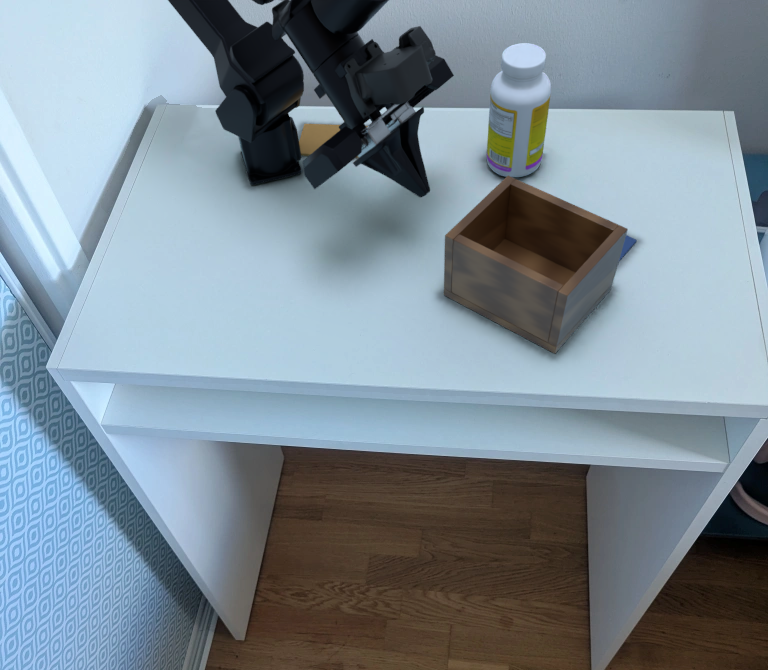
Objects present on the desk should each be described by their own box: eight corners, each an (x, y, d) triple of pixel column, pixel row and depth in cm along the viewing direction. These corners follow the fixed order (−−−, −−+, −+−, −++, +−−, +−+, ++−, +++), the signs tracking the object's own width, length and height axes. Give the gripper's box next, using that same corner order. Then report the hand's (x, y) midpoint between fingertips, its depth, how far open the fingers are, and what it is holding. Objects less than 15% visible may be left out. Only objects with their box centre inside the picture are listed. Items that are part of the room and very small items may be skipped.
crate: (443, 295, 82) (444, 235, 75) (501, 237, 86) (507, 175, 79) (554, 354, 77) (567, 295, 70) (611, 289, 81) (628, 228, 74)
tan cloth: (295, 155, 95) (295, 153, 94) (304, 125, 98) (304, 123, 97) (391, 159, 93) (390, 156, 93) (397, 128, 96) (397, 126, 96)
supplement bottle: (538, 143, 93) (553, 35, 82) (543, 179, 90) (559, 71, 79) (484, 146, 94) (491, 38, 82) (487, 181, 90) (494, 74, 79)
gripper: (309, 62, 64) (414, 221, 70) (441, -35, 71) (526, 118, 77) (259, 116, 74) (355, 252, 80) (379, 26, 80) (459, 158, 86)
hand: (425, 194), depth 80 cm, fingers closed
